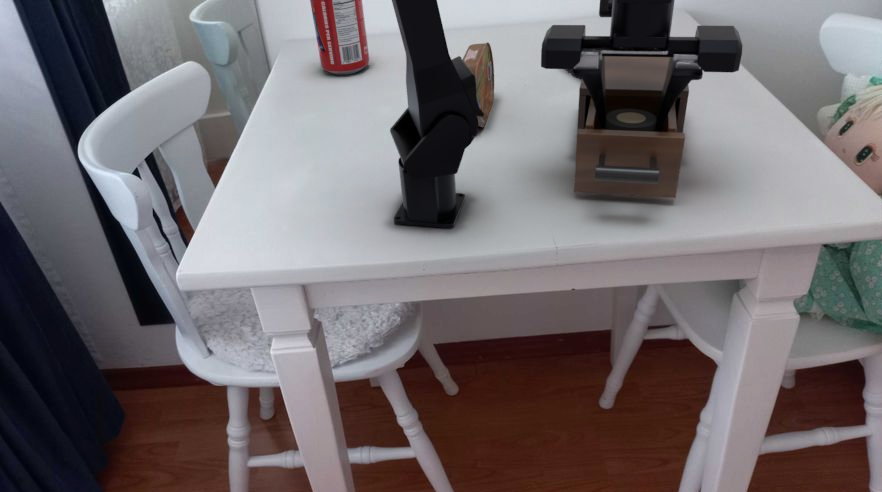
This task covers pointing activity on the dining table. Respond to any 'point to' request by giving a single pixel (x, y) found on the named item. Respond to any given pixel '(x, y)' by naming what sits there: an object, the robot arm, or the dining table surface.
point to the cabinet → (634, 84)
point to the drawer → (629, 154)
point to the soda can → (340, 35)
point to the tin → (482, 76)
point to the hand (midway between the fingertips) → (630, 127)
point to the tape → (630, 120)
